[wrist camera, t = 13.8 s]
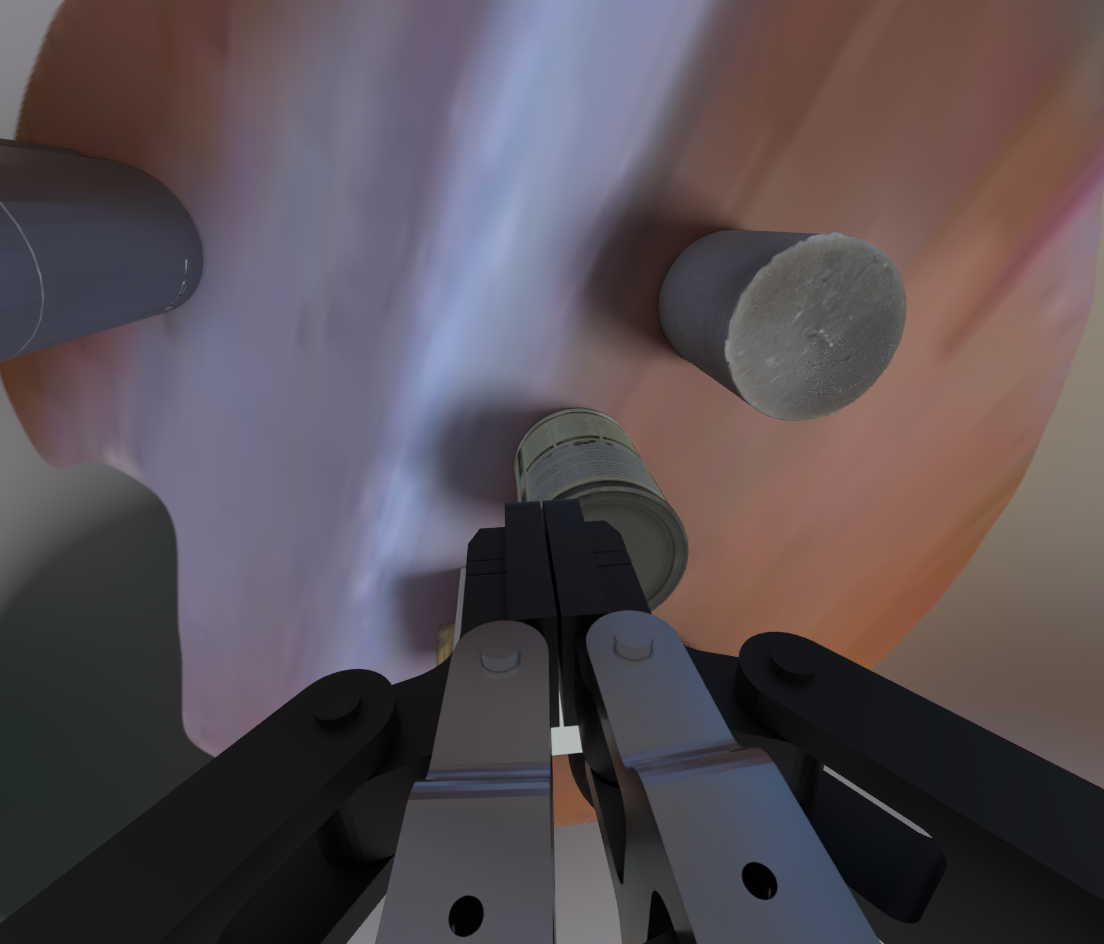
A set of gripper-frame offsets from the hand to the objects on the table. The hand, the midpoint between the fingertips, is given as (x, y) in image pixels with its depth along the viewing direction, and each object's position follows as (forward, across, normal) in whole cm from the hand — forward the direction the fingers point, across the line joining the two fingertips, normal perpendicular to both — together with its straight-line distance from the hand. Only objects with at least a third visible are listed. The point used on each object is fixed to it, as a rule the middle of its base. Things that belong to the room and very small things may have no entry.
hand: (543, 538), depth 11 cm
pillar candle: (+31, +16, 0) cm, 35 cm away
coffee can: (+31, +5, -13) cm, 34 cm away
